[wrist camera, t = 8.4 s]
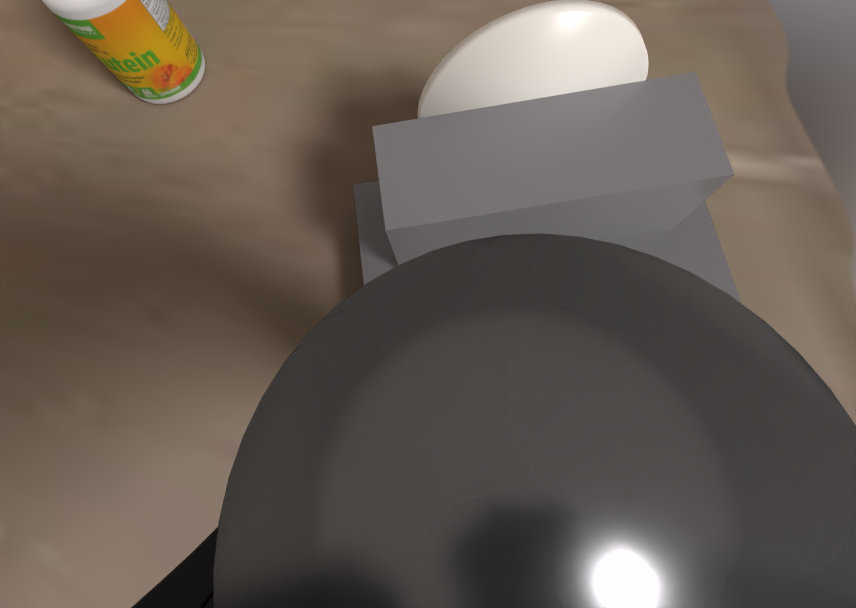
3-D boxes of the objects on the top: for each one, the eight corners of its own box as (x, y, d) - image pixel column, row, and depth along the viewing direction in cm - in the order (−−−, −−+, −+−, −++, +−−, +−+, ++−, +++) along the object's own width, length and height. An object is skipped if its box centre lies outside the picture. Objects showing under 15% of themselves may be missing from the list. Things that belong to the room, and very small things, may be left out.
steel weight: (513, 552, 15) (832, 1294, 2) (384, 482, 16) (81, 722, 3) (566, 416, 16) (984, 383, 3) (442, 358, 17) (396, 156, 4)
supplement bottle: (127, 111, 29) (-35, -40, 19) (134, 46, 30) (-13, -123, 21) (206, 101, 28) (81, -56, 19) (209, 37, 30) (96, -139, 20)
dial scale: (821, 624, 19) (1297, 893, 8) (414, 679, 19) (361, 1001, 9) (661, 146, 25) (808, -52, 15) (359, 196, 26) (291, 39, 15)
